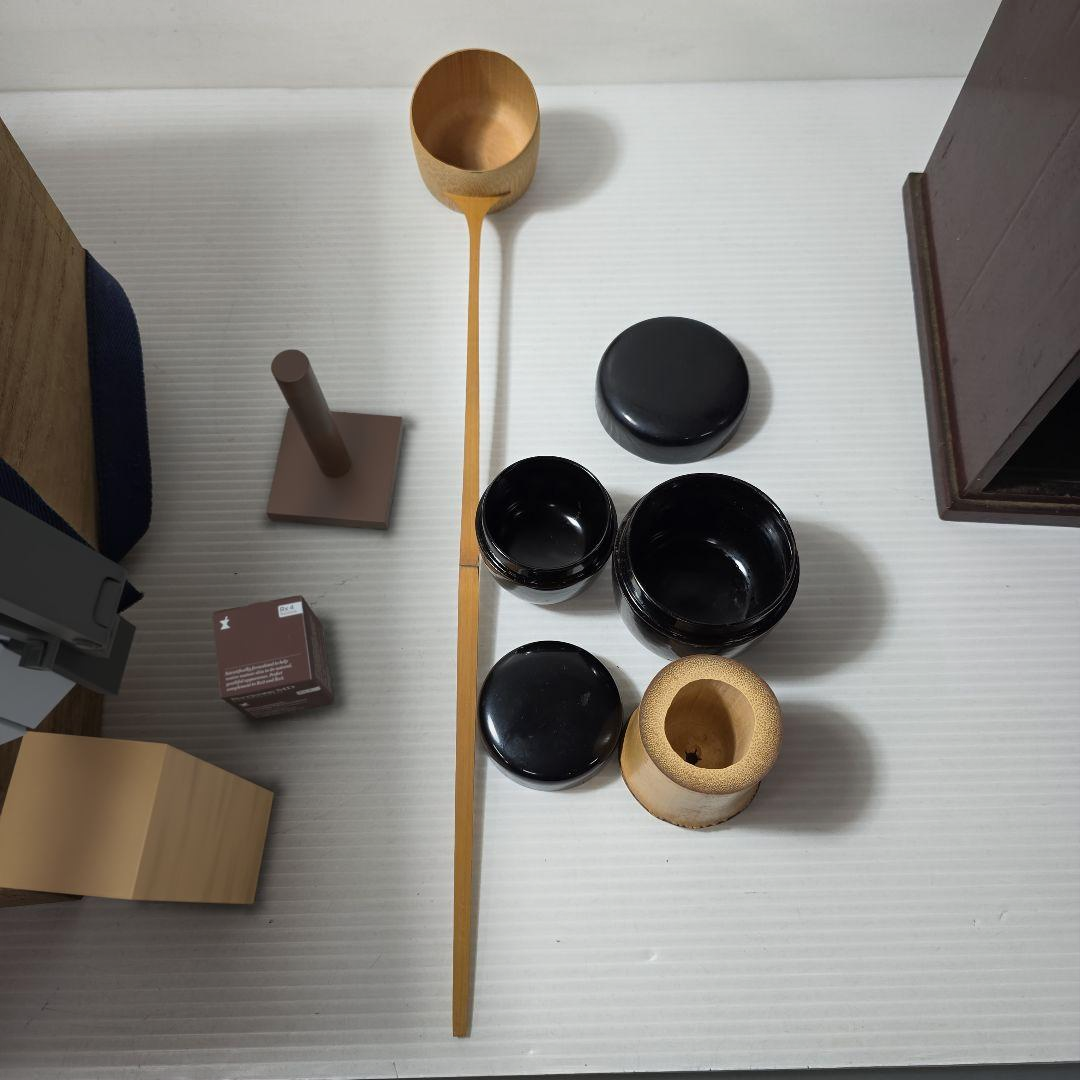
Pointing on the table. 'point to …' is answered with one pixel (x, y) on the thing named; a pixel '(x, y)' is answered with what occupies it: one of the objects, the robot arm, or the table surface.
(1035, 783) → the table surface
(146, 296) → the table surface
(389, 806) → the table surface
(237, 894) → the stand
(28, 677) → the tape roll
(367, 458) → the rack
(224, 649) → the box
